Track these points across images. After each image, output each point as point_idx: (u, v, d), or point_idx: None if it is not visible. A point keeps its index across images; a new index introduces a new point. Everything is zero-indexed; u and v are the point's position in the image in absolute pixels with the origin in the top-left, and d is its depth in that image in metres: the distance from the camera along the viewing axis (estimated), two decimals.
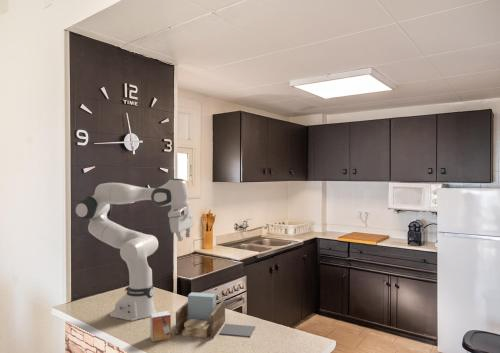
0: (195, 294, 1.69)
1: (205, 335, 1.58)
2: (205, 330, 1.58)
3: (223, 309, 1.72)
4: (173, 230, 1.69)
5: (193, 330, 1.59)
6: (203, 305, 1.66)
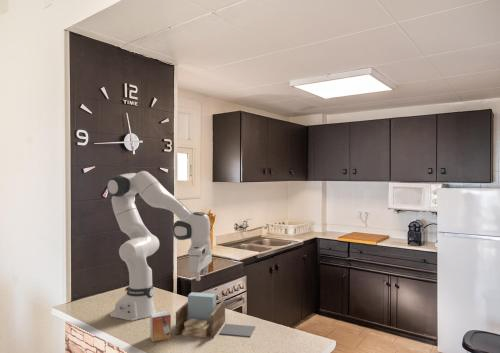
0: (195, 294, 1.69)
1: (205, 335, 1.58)
2: (205, 330, 1.58)
3: (223, 309, 1.72)
4: (192, 270, 1.58)
5: (193, 330, 1.59)
6: (203, 305, 1.66)
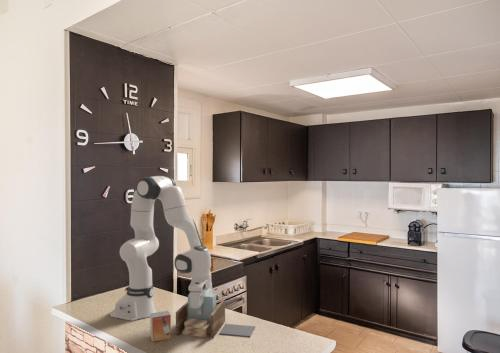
0: None
1: (204, 335, 1.58)
2: (204, 330, 1.58)
3: (223, 309, 1.72)
4: (192, 306, 1.59)
5: (193, 329, 1.60)
6: (203, 305, 1.66)
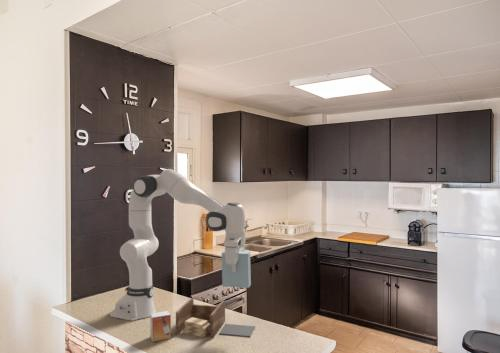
0: None
1: (203, 334, 1.58)
2: (204, 330, 1.59)
3: (223, 309, 1.72)
4: (228, 262, 1.54)
5: (192, 329, 1.60)
6: (238, 262, 1.61)
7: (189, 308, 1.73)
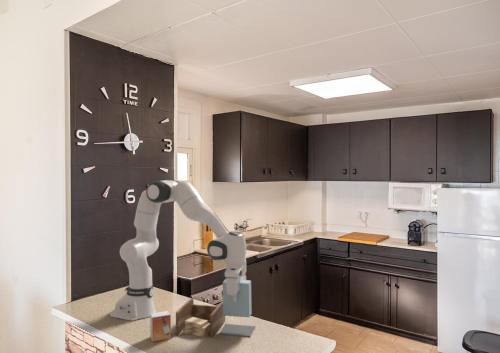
0: None
1: (203, 334, 1.58)
2: (203, 329, 1.59)
3: None
4: (229, 293, 1.54)
5: (192, 328, 1.61)
6: (239, 292, 1.61)
7: (189, 308, 1.73)
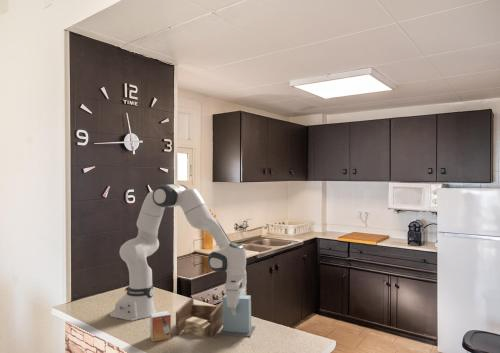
0: None
1: (203, 334, 1.59)
2: (203, 329, 1.59)
3: None
4: (229, 305, 1.54)
5: (192, 328, 1.61)
6: (239, 307, 1.61)
7: (189, 308, 1.73)
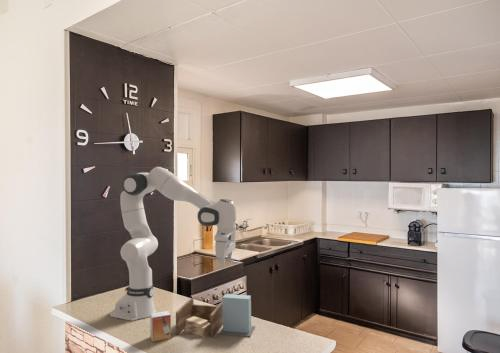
0: (230, 296, 1.64)
1: (202, 334, 1.59)
2: (203, 329, 1.59)
3: None
4: (218, 255, 1.61)
5: (192, 328, 1.61)
6: (239, 307, 1.61)
7: (189, 308, 1.73)
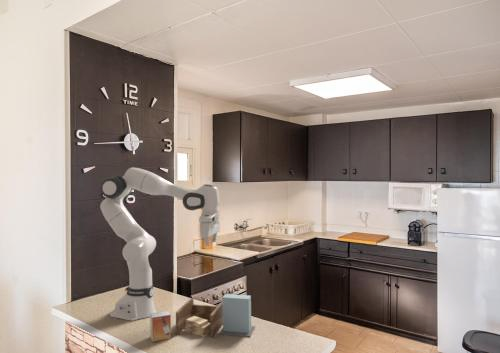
0: (230, 296, 1.64)
1: (202, 334, 1.59)
2: (202, 329, 1.59)
3: None
4: (203, 235, 1.75)
5: (192, 327, 1.62)
6: (239, 307, 1.61)
7: (189, 308, 1.73)
